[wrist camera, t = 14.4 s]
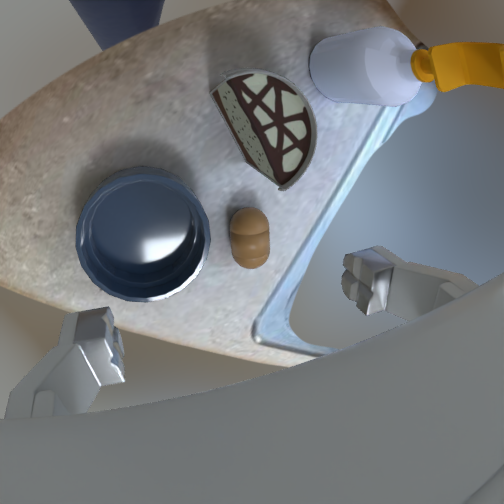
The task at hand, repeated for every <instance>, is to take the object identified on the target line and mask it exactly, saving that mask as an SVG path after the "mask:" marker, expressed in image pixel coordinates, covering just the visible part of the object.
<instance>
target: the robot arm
mask: <svg viewBox="0 0 504 504" xmlns="http://www.w3.org/2000/svg"><path fill="white" fill-rule="evenodd" d="M343 266H344V268H345V269H346V270H345V272H344V273H343V275H342V282H341V284H342V289H343V292H344V294H345V295H346V296H347V297H348V298H349V300H352V301H356V306H357V307H358V308H359V309H360V310H361V311H362V312H363V313H364V314H365V315H366V316H369V315H372V314H375V313H378V312H381V311H384V310H385V311H386V312H388V313H391V314H393V315H395V316H398V317H400V318H402V319H405V320H407V321H409V322H406V323H404V324H402V325H400V326H397V327H395V328H393V329H391V330H388V331H386V332H383V333H381V334H379V335H376V336H374V337H371V338H369V339H366V340H364V341H361V342H359V343H356V344H354V345H351V346H349V347H346V348H343V349H341V350H338V351H335V352H333V353H330V354H327V355H324V356H322V357H319V358H316V359H313V360H310V361H307V362H304V363H301V364H298V365H295V366H292V367H289V368H286V369H283V370H280V371H277V372H273V373H270V374H267V375H263V376H260V377H257V378H253V379H250V380H246V381H243V382H239V383H235V384H231V385H228V386H224V387H220V388H216V389H212V390H208V391H204V392H200V393H196V394H191V395H187V396H182V397H178V398H173V399H168V400H163V401H158V402H153V403H147V404H142V405H136V406H130V407H124V408H118V409H111V410H104V411H97V412H89V413H87V411H88V409H89V407H90V406H91V404H92V402H93V400H94V399H95V397H96V395H97V393H98V392H99V390H100V387H101V386H106V385H112V384H116V383H122V382H125V367H124V364H123V362H122V359H123V357H124V349H123V344H122V339H121V336H120V333H119V330H118V328H116V327H115V326H114V316H113V314H112V311H111V309H110V308H109V307H103V308H97V309H91V310H86V311H80V312H74V313H69V314H66V315H65V316H64V320H63V324H62V328H61V332H60V337H59V341H58V345H57V346H56V347H53V348H52V349H51V350H50V351H49V352H48V353H47V354H46V355H45V356H44V357H43V358H42V359H41V360H40V361H39V362H38V363H37V364H36V365H35V366H34V367H33V369H32V370H31V371H30V372H29V373H28V374H27V375H26V376H25V377H24V378H23V379H22V380H21V381H20V382H19V383H18V384H17V386H16V387H15V388H14V389H13V390H12V391H11V392H10V395H9V399H8V404H7V408H6V413H5V418H4V419H0V504H504V272H503V273H502V274H500V275H498V276H497V277H495V278H493V279H491V280H489V281H488V282H486V283H484V284H482V285H481V286H478V285H477V284H476V283H474V282H473V281H471V280H470V279H468V278H467V277H465V276H464V275H462V274H458V273H454V272H450V271H446V270H442V269H438V268H434V267H430V266H425V265H421V264H417V263H413V262H408V263H407V262H405V261H404V260H402V259H401V258H399V257H398V256H396V255H395V254H393V253H392V252H390V251H389V250H387V249H386V248H384V247H383V246H374V247H371V248H368V249H364V250H361V251H357V252H353V253H350V254H346V255H345V257H344V260H343Z"/></svg>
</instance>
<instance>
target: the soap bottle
mask: <svg viewBox="0 0 504 504" xmlns="http://www.w3.org/2000/svg"><path fill="white" fill-rule="evenodd" d="M309 68H310V73H311V78H312V80H313V82H314V84H315V85H316V87H317V89H318V90H319V91H320V92H321V93H322V94H323V95H324V96H325V97H326V98H328V99H331V100H333V101H335V102H341V103H356V104H368V105H379V106H389V107H397V106H400V105H402V104H405V103H407V102H409V101H411V100H412V99H413V98H414V96H415V95H416V94H417V92H418V90H419V87H420V85H421V82H431V81H433V80H434V79H435V84H436V87H437V89H438V90H439V91H441V92H446V91H449V90H451V89H454V88H457V87H460V86H462V85H466V84H475V85H483V86H490V87H497V88H503V89H504V44H499V43H482V42H455V43H448V44H443V45H438V46H433V47H430V48H429V50H428V51H427V50H422V49H416V48H415V47H414V45H413V44H412V43H411V41H410V40H409V39H408V38H407V37H406V36H405V35H403V34H402V33H401V32H399V31H397V30H394V29H391V28H387V27H383V26H378V27H373V28H368V29H363V30H358V31H354V32H349V33H345V34H341V35H337V36H333V37H329V38H325V39H323V40H322V41H321V42H319V43H318V44H317V45H316V46H315V48H314V50H313V52H312V54H311V56H310V64H309Z"/></svg>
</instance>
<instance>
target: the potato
mask: <svg viewBox="0 0 504 504" xmlns="http://www.w3.org/2000/svg"><path fill="white" fill-rule="evenodd" d="M230 238H231V249H232V255H233V258H234V260H235V261H236V262H237V263H238V264H239V265H240V266H242V267H244V268H247V269H254V268H258V267H260V266H262V265H263V264H264V263H265V262H266V260H267V259H268V257H269V253H270V238H269V222H268V219H267V217H266V216H265V214H264V213H263V212H262V211H260V210H259V209H256V208H253V207H246V208H242V209H240V210H238V211H237V212H236V213H235V214H234V215H233V217H232V219H231V221H230Z"/></svg>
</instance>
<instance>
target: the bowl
mask: <svg viewBox="0 0 504 504" xmlns="http://www.w3.org/2000/svg"><path fill="white" fill-rule="evenodd" d="M210 242H211V237H210V229H209V221H208V218H207V216H206V214H205V212H204V210H203V208H202V206H201V203H200V202H199V200H198V198H197V197H196V195H195V194H194V192H193V191H192V190H191V189H190V188H189V187H188V186H187V185H186V184H185V182H184V181H183V180H182V179H181V178H179V177H178V176H176V175H174V174H172V173H170V172H168V171H166V170H164V169H161V168H154V167H147V166H138V167H133V168H128V169H123V170H120V171H118V172H116V173H115V174H113V175H111V176H109V177H108V178H106V179H104V180H103V181H102V182H101V183H100V184H99V186H98V187H97V188H96V189H95V190H94V191H93V192H92V194H91V195H90V197H89V198H88V200H87V202H86V204H85V206H84V208H83V210H82V213H81V215H80V218H79V221H78V223H77V227H76V250H77V254H78V257H79V260H80V263H81V266H82V268H83V269H84V271H85V272H86V274H87V275H88V276H89V278H90V279H91V281H92V282H93V283H94V284H95V285H97V286H98V287H99V288H101V289H102V290H103V291H105V292H106V293H107V294H109V295H112V296H114V297H117V298H120V299H123V300H125V301H132V302H152V301H156V300H161V299H166V298H168V297H170V296H171V295H173V294H175V293H177V292H179V291H181V290H183V289H184V288H185V287H186V286H187V285H188V284H189V283H190V282H191V281H193V280H194V279H195V278H196V277H197V275H198V274H199V272H200V270H201V268H202V267H203V265H204V263H205V261H206V260H207V256H208V251H209V246H210Z"/></svg>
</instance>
